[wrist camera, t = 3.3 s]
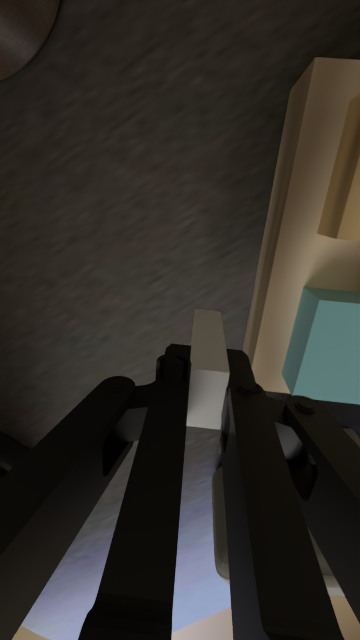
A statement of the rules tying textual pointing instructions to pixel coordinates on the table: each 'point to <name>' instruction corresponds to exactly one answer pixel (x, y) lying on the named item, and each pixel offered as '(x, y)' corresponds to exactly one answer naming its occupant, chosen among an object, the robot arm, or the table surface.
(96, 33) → the table surface
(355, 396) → the teal tile
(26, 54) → the plant pot
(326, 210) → the ochre tile
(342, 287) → the platform
